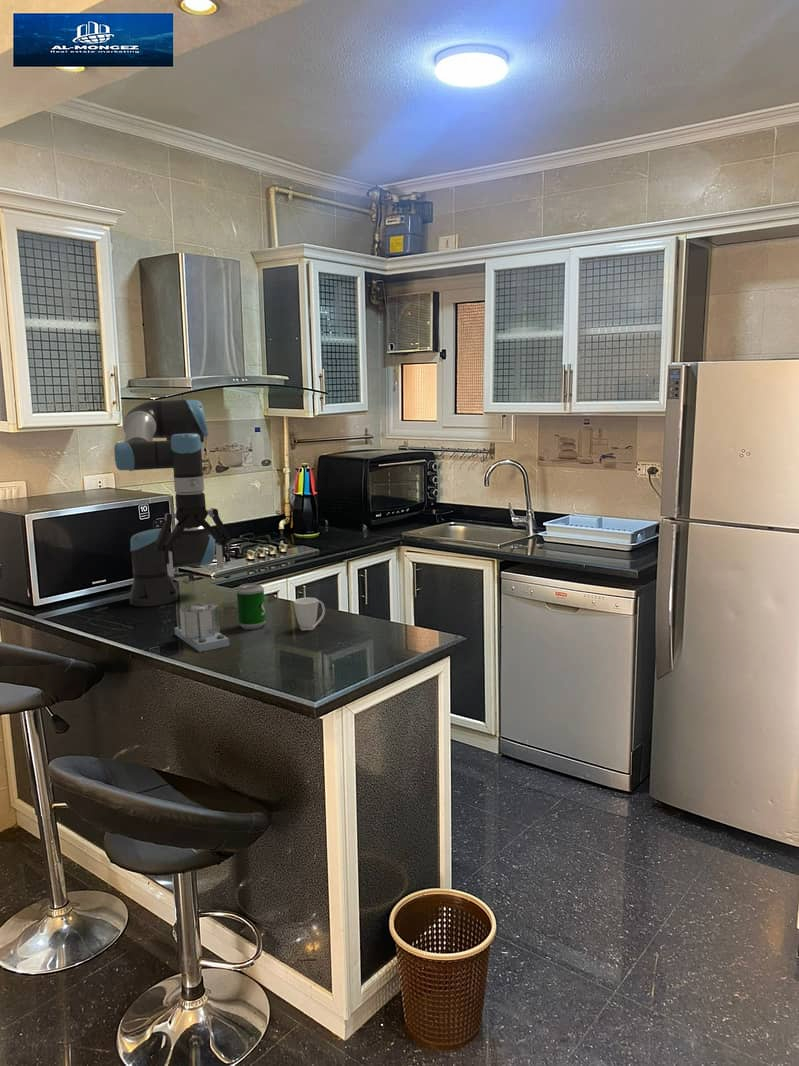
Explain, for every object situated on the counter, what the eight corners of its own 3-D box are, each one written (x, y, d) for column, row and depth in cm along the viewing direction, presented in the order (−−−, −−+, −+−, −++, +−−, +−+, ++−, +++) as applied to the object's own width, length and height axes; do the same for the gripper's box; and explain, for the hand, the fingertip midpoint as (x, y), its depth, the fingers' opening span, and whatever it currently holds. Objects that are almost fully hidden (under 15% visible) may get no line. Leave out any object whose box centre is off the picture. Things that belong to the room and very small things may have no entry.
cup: (289, 629, 220) (287, 601, 219) (316, 621, 228) (315, 594, 226) (305, 633, 216) (304, 604, 214) (333, 625, 223) (331, 597, 221)
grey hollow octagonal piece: (177, 632, 214) (175, 607, 213) (211, 625, 219) (209, 601, 218) (189, 640, 206) (187, 614, 205) (224, 633, 211) (222, 608, 210)
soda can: (260, 630, 220) (257, 588, 218) (235, 629, 222) (232, 588, 220) (269, 623, 227) (267, 582, 225) (245, 622, 229) (242, 582, 227)
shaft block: (175, 634, 219) (172, 603, 217) (202, 629, 223) (200, 598, 222) (199, 652, 202) (197, 618, 201) (229, 645, 207) (227, 612, 205)
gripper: (146, 498, 196) (153, 581, 200) (240, 489, 210) (245, 567, 214) (137, 496, 203) (144, 576, 206) (229, 487, 216) (234, 562, 220)
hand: (196, 571), depth 210 cm, fingers open, 13 cm apart
